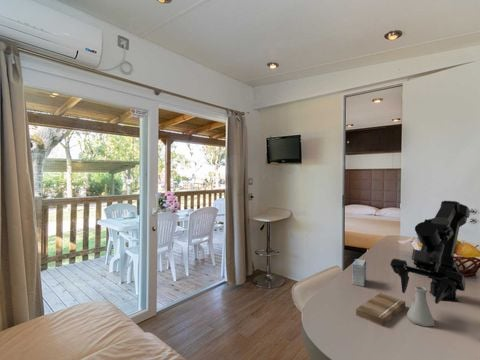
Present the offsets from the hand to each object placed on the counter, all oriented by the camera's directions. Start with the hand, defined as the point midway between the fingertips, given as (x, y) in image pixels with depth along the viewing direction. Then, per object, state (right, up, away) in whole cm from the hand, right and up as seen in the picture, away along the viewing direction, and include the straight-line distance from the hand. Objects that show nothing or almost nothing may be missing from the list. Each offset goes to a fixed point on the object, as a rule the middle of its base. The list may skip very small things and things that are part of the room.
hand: (418, 297), depth 78 cm
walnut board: (-8, -7, +7) cm, 13 cm away
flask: (+1, -8, +1) cm, 8 cm away
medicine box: (-4, -8, +30) cm, 31 cm away
